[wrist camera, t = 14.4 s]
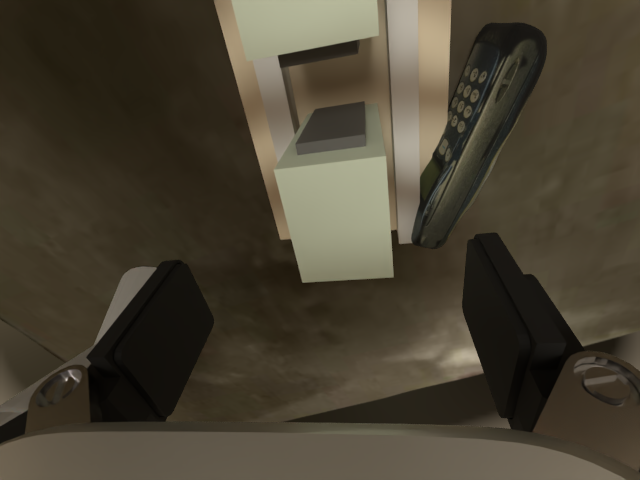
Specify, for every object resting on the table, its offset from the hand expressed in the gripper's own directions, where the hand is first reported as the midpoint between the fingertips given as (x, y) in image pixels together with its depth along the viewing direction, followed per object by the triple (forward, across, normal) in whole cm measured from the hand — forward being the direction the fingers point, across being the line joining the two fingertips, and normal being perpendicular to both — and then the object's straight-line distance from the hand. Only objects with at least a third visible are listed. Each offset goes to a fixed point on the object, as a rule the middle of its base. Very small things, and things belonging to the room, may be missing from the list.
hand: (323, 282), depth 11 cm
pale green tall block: (+14, 0, +1) cm, 14 cm away
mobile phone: (+16, -7, +2) cm, 17 cm away
